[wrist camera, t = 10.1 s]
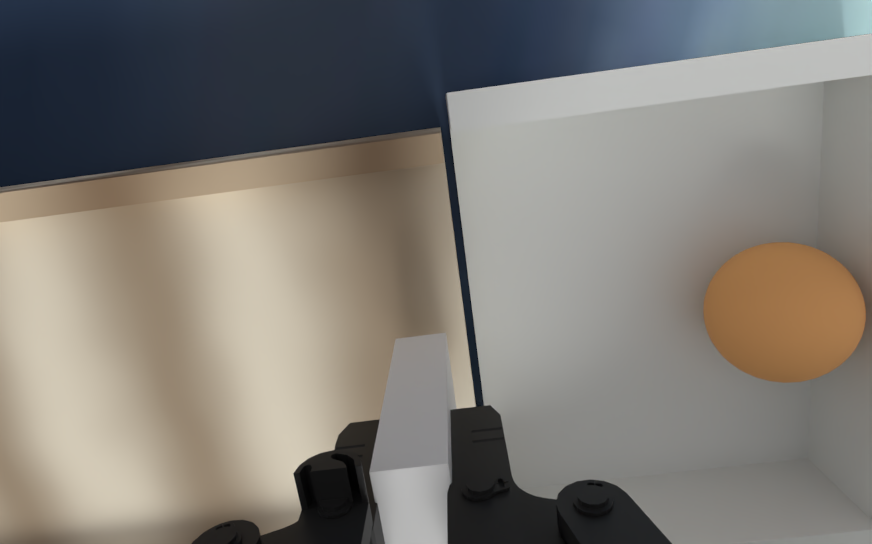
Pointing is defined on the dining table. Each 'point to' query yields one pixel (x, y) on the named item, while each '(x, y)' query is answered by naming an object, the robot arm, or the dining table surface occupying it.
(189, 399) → the deck
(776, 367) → the ball
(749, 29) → the dining table surface
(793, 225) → the tray
